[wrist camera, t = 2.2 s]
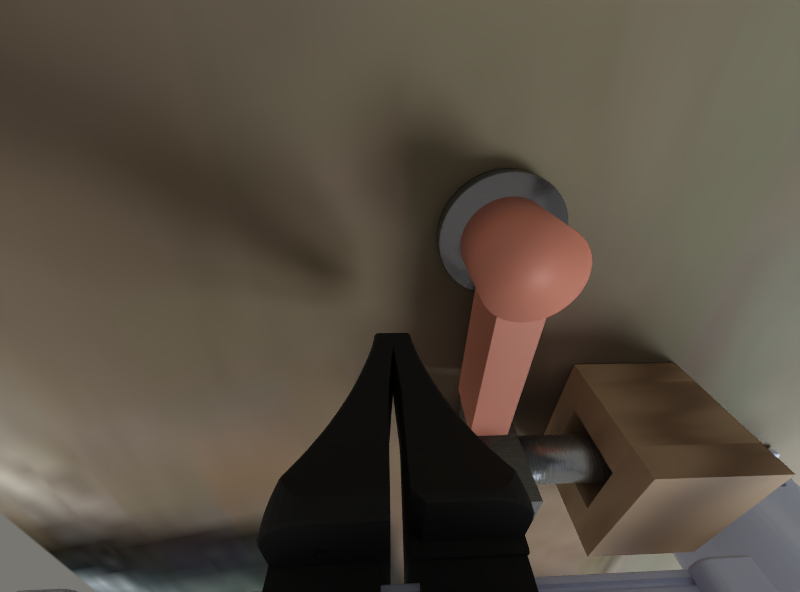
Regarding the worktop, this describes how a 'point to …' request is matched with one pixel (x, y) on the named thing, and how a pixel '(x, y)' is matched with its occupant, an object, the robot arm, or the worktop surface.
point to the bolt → (548, 459)
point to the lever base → (478, 196)
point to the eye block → (658, 460)
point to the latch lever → (513, 301)
